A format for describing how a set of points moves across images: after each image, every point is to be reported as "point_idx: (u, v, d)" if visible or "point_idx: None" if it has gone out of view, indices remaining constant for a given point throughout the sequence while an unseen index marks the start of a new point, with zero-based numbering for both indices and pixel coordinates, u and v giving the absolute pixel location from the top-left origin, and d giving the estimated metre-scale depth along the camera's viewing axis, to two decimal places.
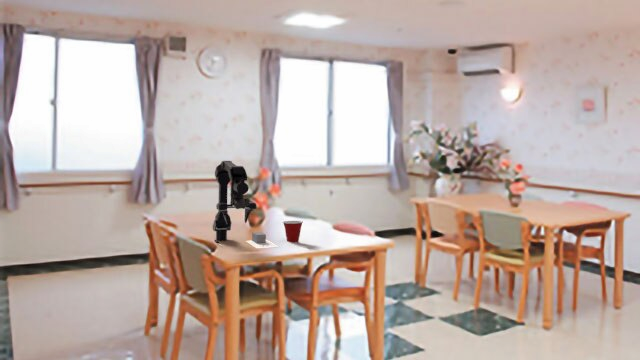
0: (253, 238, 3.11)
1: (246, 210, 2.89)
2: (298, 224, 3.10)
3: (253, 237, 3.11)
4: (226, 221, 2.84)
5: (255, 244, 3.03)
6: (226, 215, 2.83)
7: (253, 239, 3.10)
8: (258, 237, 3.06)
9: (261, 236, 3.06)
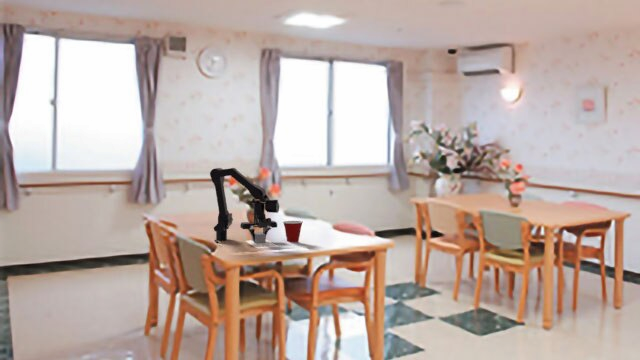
0: None
1: (264, 229, 3.11)
2: (298, 224, 3.10)
3: None
4: (253, 239, 3.08)
5: (255, 244, 3.03)
6: (253, 233, 3.07)
7: None
8: (258, 237, 3.06)
9: (261, 236, 3.06)
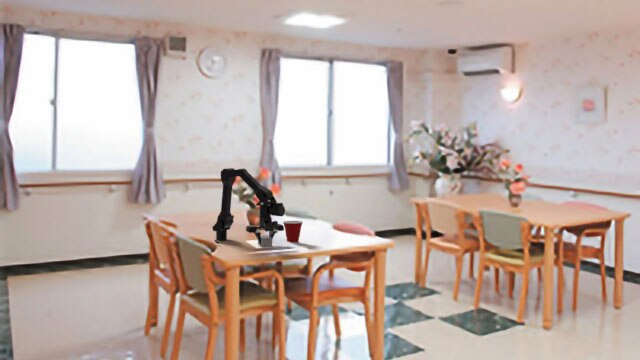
0: None
1: (270, 232, 3.02)
2: (298, 224, 3.10)
3: None
4: (259, 242, 2.99)
5: (255, 244, 3.03)
6: (259, 237, 2.98)
7: None
8: (264, 241, 2.97)
9: (267, 240, 2.97)
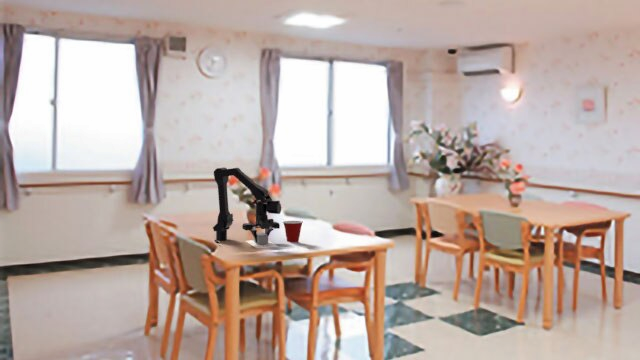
0: None
1: (266, 230, 3.08)
2: (298, 224, 3.10)
3: None
4: (255, 240, 3.05)
5: (255, 244, 3.03)
6: (255, 234, 3.04)
7: None
8: (260, 238, 3.02)
9: (263, 237, 3.03)
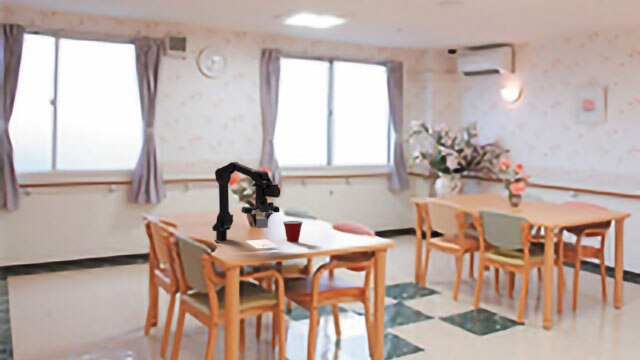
0: None
1: (266, 214, 3.00)
2: (298, 224, 3.10)
3: None
4: (254, 224, 2.98)
5: (255, 244, 3.03)
6: (254, 218, 2.97)
7: None
8: (260, 222, 2.95)
9: (263, 221, 2.96)
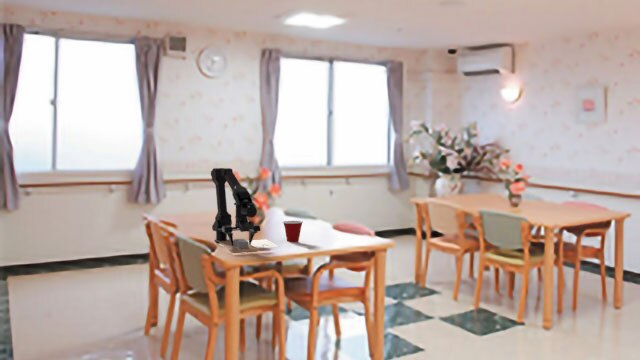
0: (235, 245, 2.98)
1: (250, 232, 2.99)
2: (298, 224, 3.10)
3: (235, 244, 2.99)
4: (231, 243, 2.95)
5: (255, 244, 3.03)
6: (231, 237, 2.94)
7: None
8: (240, 244, 2.93)
9: (243, 243, 2.94)
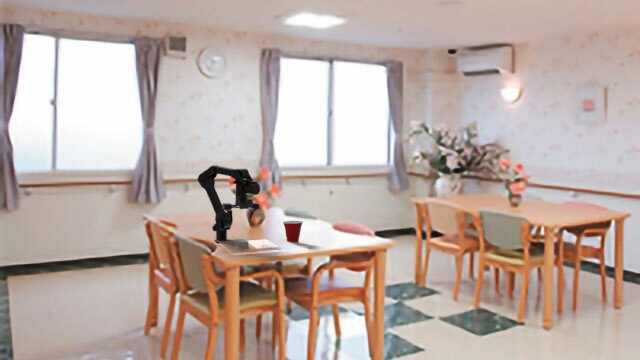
0: (235, 245, 2.98)
1: (250, 210, 3.07)
2: (298, 224, 3.10)
3: (235, 244, 2.99)
4: (231, 220, 3.03)
5: (255, 244, 3.03)
6: (231, 215, 3.02)
7: None
8: (240, 244, 2.93)
9: (243, 243, 2.94)
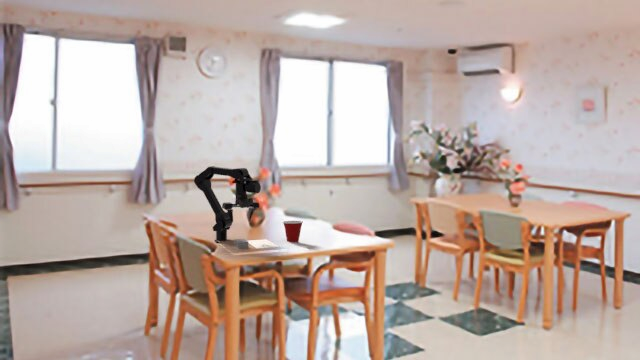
0: (235, 245, 2.98)
1: (250, 209, 3.10)
2: (298, 224, 3.10)
3: (235, 244, 2.99)
4: (231, 219, 3.05)
5: (255, 244, 3.03)
6: (231, 214, 3.04)
7: None
8: (240, 244, 2.93)
9: (243, 243, 2.94)
